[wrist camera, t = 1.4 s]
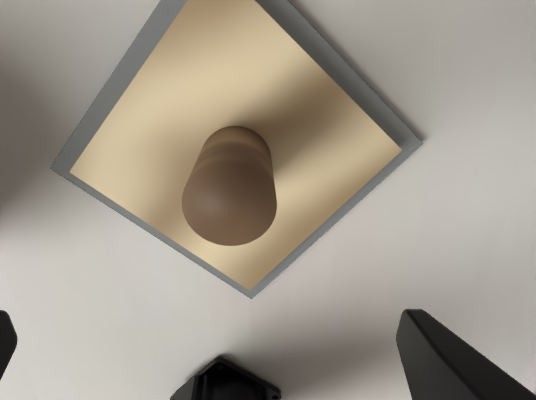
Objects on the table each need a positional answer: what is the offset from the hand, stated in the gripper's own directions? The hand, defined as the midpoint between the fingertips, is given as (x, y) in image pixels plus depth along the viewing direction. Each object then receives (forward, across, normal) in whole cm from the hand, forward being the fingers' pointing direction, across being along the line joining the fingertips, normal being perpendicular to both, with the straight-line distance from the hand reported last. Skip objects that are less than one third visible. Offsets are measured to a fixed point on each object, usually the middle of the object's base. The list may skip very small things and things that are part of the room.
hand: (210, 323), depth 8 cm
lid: (+12, 0, 0) cm, 12 cm away
